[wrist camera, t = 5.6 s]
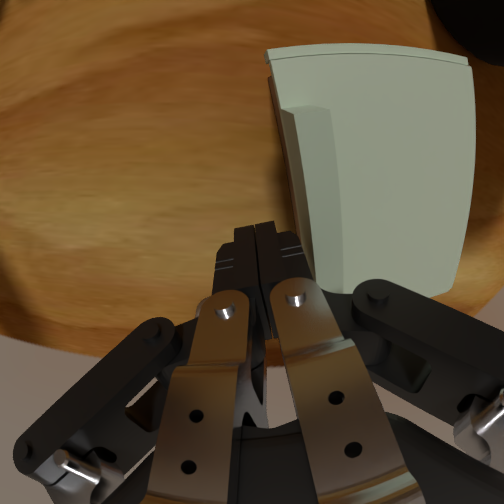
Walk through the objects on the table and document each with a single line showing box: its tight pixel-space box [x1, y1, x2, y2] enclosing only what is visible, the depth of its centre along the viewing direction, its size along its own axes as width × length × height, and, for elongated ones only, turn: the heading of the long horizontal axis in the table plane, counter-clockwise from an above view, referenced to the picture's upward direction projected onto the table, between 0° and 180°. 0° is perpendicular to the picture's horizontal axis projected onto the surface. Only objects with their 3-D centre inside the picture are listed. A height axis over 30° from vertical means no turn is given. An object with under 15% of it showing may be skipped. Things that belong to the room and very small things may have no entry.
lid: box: [264, 43, 476, 298], centre depth 10 cm, size 14×9×4 cm
